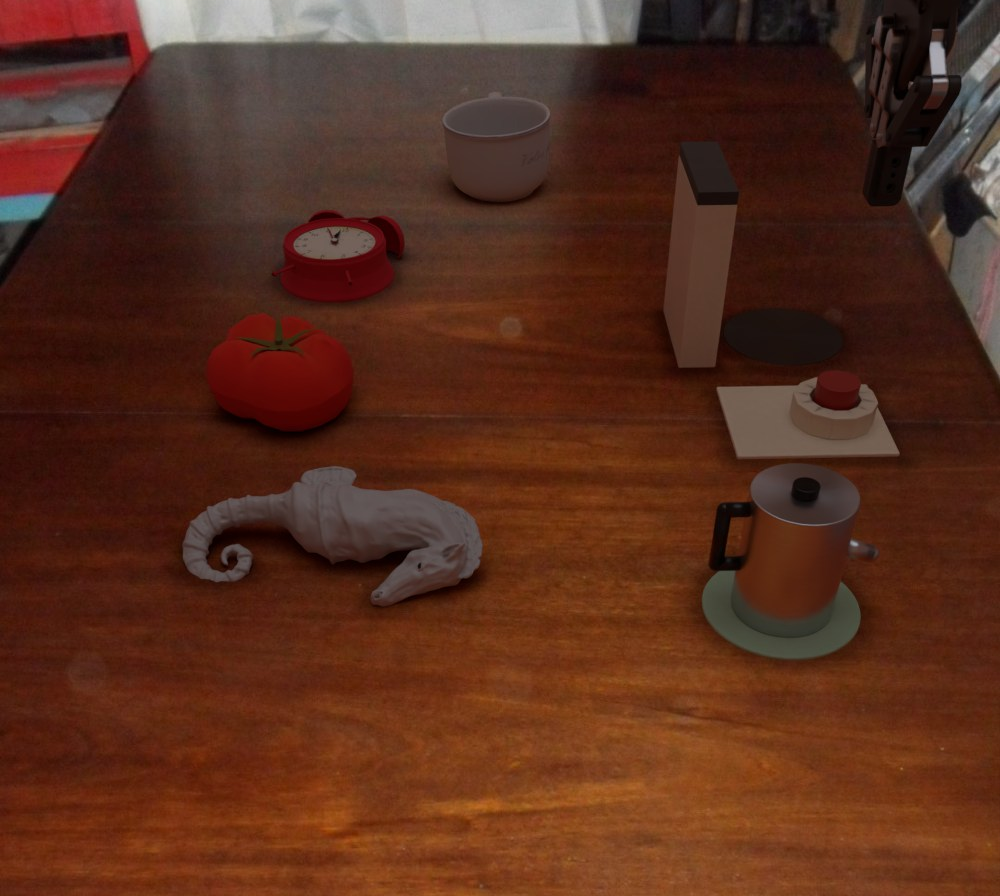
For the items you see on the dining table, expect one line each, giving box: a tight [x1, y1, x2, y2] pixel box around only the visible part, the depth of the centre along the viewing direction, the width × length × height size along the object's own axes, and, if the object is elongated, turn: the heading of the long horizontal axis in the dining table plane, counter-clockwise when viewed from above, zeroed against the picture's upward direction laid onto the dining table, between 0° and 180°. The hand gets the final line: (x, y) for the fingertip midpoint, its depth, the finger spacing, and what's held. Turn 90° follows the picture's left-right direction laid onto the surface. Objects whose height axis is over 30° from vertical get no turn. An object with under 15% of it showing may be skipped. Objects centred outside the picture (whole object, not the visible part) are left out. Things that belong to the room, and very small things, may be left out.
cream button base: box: [715, 376, 901, 460], centre depth 90 cm, size 12×10×3 cm
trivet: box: [700, 571, 862, 661], centre depth 76 cm, size 10×10×1 cm
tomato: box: [205, 312, 355, 432], centre depth 92 cm, size 10×11×6 cm
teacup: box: [441, 91, 552, 203], centre depth 122 cm, size 14×11×8 cm
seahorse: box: [181, 465, 484, 608], centre depth 78 cm, size 5×12×20 cm
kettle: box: [708, 462, 880, 638], centre depth 72 cm, size 10×6×9 cm, turn 92°
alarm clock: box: [271, 209, 406, 304], centre depth 109 cm, size 10×6×15 cm
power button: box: [813, 369, 862, 411], centre depth 89 cm, size 3×3×2 cm
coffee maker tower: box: [662, 141, 740, 369], centre depth 96 cm, size 3×10×15 cm, turn 2°
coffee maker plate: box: [722, 307, 844, 367], centre depth 101 cm, size 10×10×1 cm
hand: (879, 201), depth 79 cm, fingers closed
